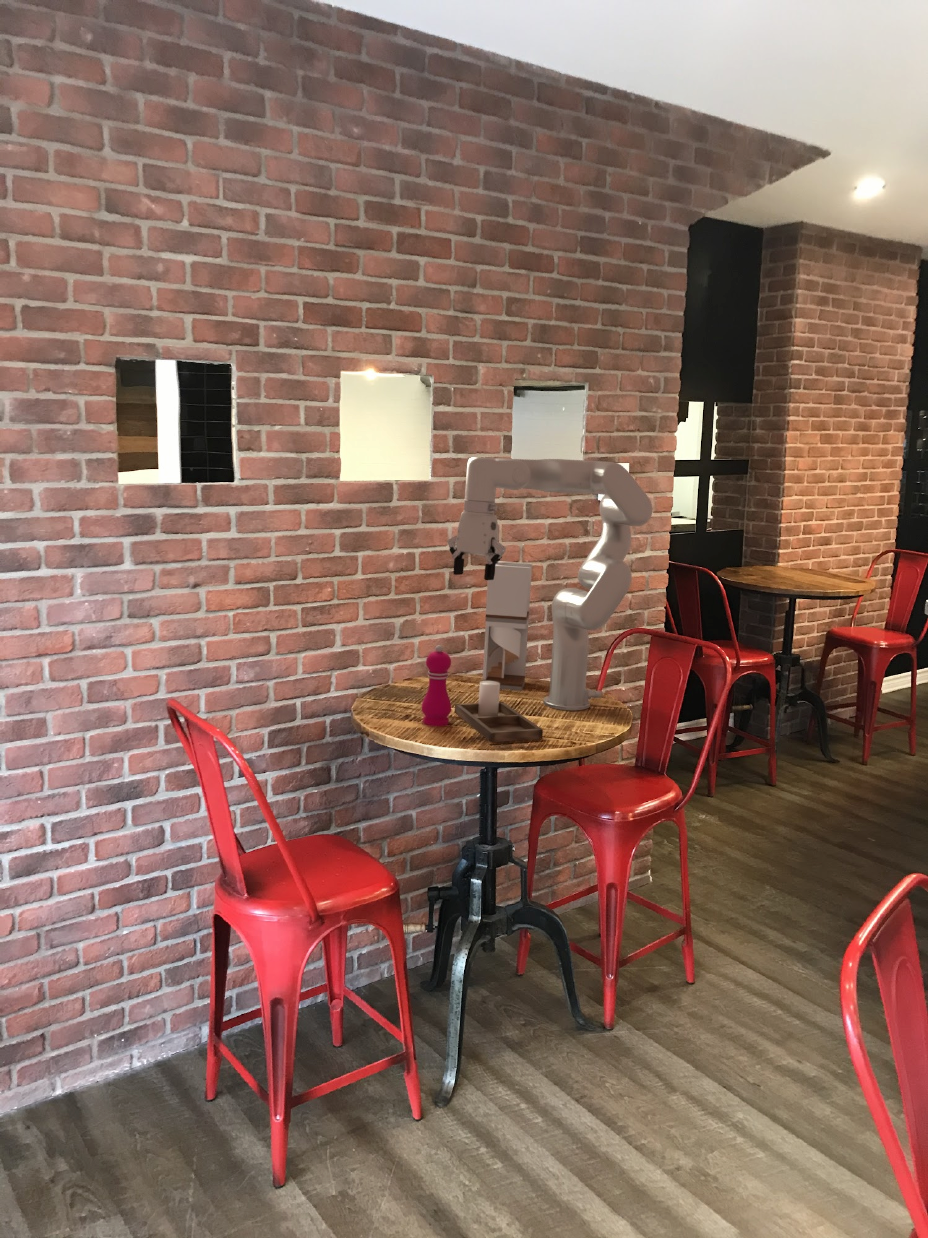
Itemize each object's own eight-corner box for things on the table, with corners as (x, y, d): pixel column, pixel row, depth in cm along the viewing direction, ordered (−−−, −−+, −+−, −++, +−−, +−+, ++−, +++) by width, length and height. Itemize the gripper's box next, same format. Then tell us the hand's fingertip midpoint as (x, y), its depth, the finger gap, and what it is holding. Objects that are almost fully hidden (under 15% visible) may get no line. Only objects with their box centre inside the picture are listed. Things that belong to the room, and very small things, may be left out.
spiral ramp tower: (481, 687, 278) (488, 565, 272) (486, 679, 289) (492, 560, 283) (521, 690, 277) (529, 567, 271) (524, 682, 287) (532, 563, 281)
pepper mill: (439, 731, 234) (443, 649, 231) (415, 725, 238) (418, 645, 235) (456, 725, 240) (460, 645, 237) (431, 719, 244) (435, 640, 241)
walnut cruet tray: (502, 713, 253) (502, 701, 253) (542, 742, 230) (542, 729, 230) (454, 715, 249) (455, 704, 248) (490, 745, 226) (491, 732, 225)
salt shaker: (493, 715, 248) (495, 680, 246) (500, 720, 243) (502, 685, 242) (475, 716, 246) (476, 681, 245) (482, 721, 242) (484, 686, 240)
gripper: (516, 511, 239) (510, 581, 242) (461, 505, 250) (455, 571, 252) (498, 511, 233) (492, 582, 236) (442, 504, 244) (437, 573, 246)
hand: (473, 577), depth 244 cm, fingers open, 9 cm apart
